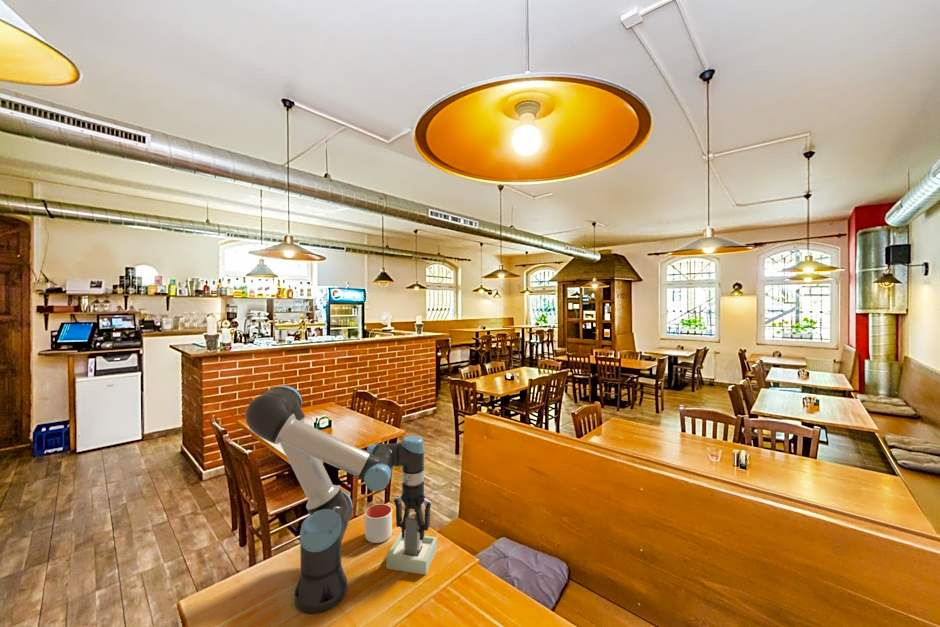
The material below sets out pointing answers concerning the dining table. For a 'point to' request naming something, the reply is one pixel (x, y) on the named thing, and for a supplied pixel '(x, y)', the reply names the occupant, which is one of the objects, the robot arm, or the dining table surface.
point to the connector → (411, 534)
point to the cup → (378, 523)
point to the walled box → (411, 563)
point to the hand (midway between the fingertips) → (412, 546)
